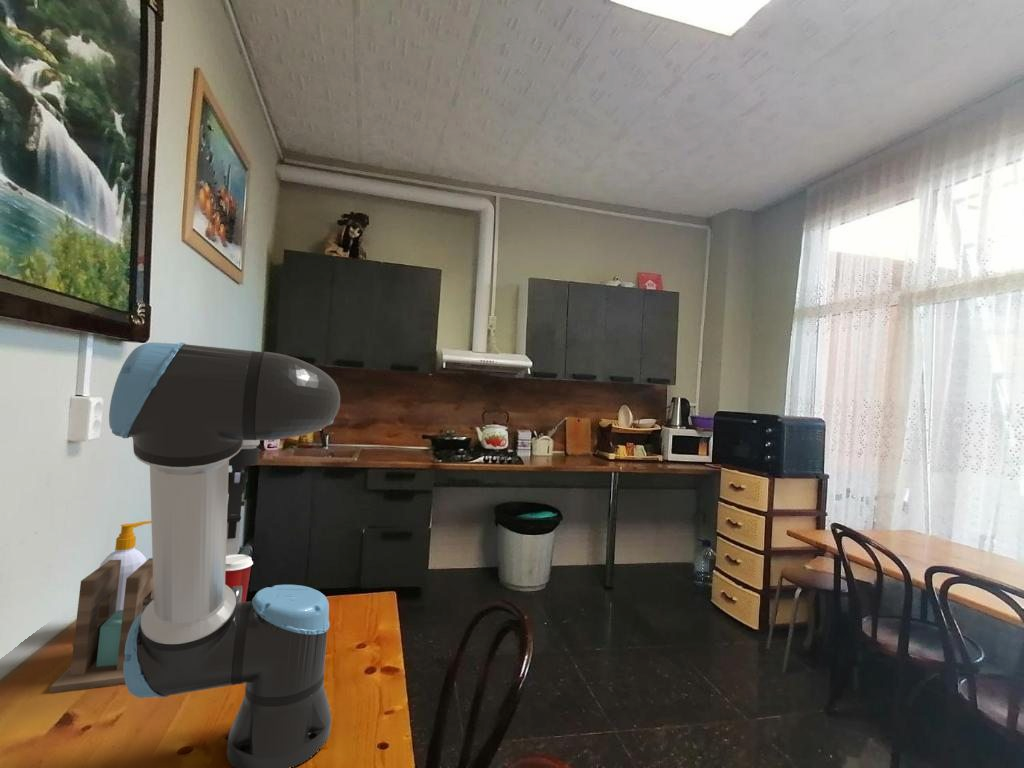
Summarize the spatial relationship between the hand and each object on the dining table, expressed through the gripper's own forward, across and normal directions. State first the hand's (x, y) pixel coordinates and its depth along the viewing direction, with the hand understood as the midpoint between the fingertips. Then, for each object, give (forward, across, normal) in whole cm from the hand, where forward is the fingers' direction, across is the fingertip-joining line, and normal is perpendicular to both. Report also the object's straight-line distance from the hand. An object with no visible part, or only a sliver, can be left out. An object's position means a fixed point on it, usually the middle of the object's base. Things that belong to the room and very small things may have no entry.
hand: (230, 544), depth 101 cm
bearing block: (+23, +3, +16) cm, 28 cm away
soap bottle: (+23, +18, +21) cm, 36 cm away
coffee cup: (+23, +14, -1) cm, 27 cm away
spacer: (+21, +3, +18) cm, 28 cm away
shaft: (+15, +1, +6) cm, 16 cm away
